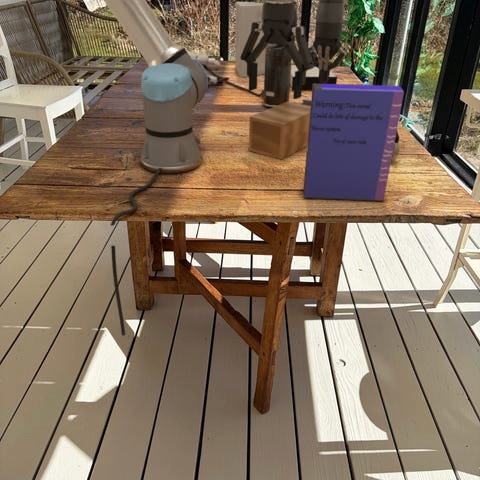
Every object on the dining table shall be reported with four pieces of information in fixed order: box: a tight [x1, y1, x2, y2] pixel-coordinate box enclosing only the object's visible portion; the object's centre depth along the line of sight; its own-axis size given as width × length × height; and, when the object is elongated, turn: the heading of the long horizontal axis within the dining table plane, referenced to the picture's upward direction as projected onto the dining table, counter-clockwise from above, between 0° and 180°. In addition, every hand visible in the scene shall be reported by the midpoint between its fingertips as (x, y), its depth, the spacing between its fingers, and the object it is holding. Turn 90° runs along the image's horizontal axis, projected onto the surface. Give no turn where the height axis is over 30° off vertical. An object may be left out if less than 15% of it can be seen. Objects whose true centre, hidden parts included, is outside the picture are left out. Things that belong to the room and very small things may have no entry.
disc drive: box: [290, 65, 338, 91], centre depth 199 cm, size 18×22×5 cm
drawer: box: [297, 98, 311, 106], centre depth 142 cm, size 23×10×8 cm, turn 144°
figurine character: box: [392, 131, 400, 157], centre depth 128 cm, size 7×8×15 cm
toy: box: [186, 50, 221, 68], centre depth 223 cm, size 24×25×7 cm
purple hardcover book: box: [302, 83, 405, 202], centre depth 102 cm, size 17×5×24 cm, turn 86°
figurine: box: [207, 74, 230, 86], centre depth 193 cm, size 24×8×30 cm
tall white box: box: [234, 1, 265, 78], centre depth 210 cm, size 19×15×28 cm
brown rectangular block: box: [248, 101, 311, 160], centre depth 133 cm, size 19×11×10 cm, turn 144°
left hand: (274, 93), depth 123 cm, fingers open, 13 cm apart
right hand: (323, 82), depth 143 cm, fingers closed
